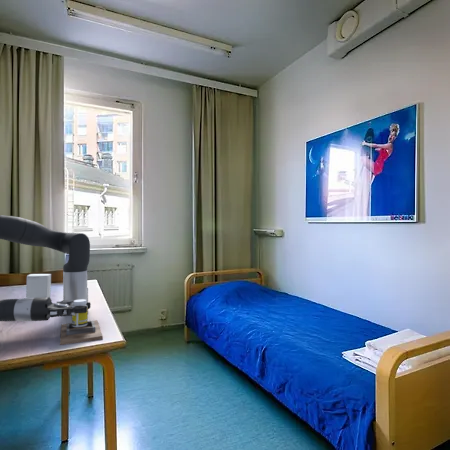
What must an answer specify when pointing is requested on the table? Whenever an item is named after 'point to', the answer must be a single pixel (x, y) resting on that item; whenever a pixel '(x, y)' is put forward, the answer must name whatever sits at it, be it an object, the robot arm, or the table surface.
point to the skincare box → (38, 285)
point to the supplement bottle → (80, 315)
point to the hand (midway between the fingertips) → (88, 307)
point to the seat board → (80, 333)
